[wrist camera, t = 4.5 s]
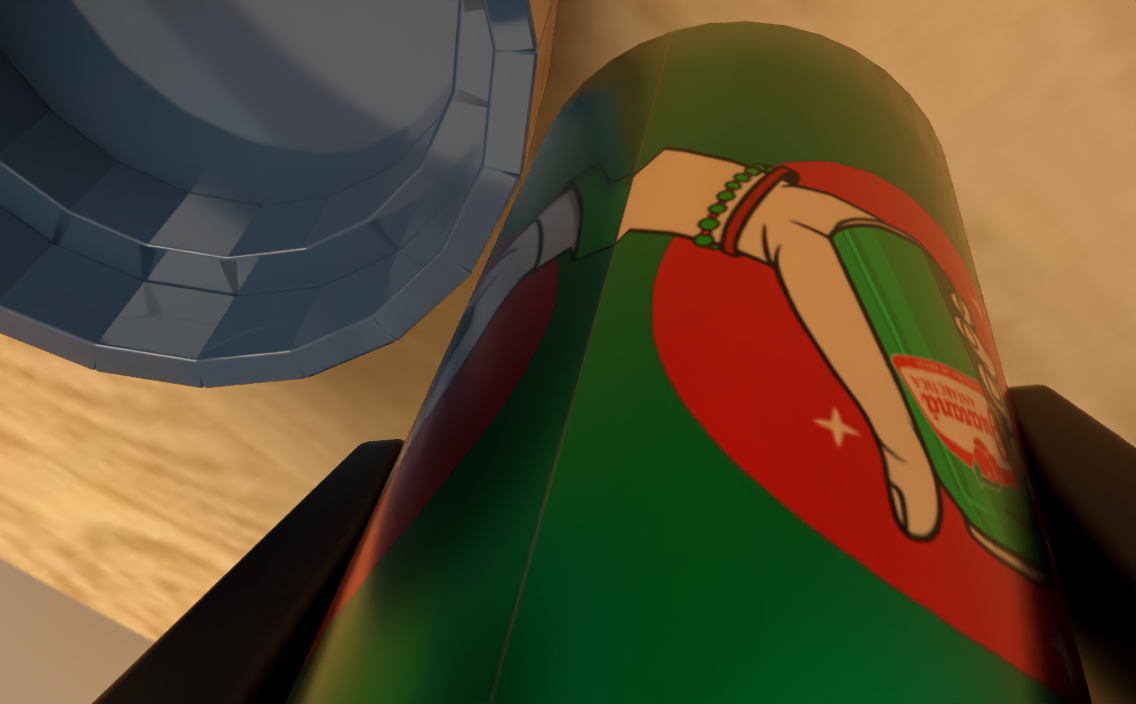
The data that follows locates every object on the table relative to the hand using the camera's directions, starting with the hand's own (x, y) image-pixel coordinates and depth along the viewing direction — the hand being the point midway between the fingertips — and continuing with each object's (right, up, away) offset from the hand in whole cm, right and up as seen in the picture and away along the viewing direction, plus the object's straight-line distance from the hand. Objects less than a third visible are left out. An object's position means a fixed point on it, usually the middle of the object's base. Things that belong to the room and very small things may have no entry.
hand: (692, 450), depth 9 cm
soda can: (+1, +3, +4) cm, 5 cm away
